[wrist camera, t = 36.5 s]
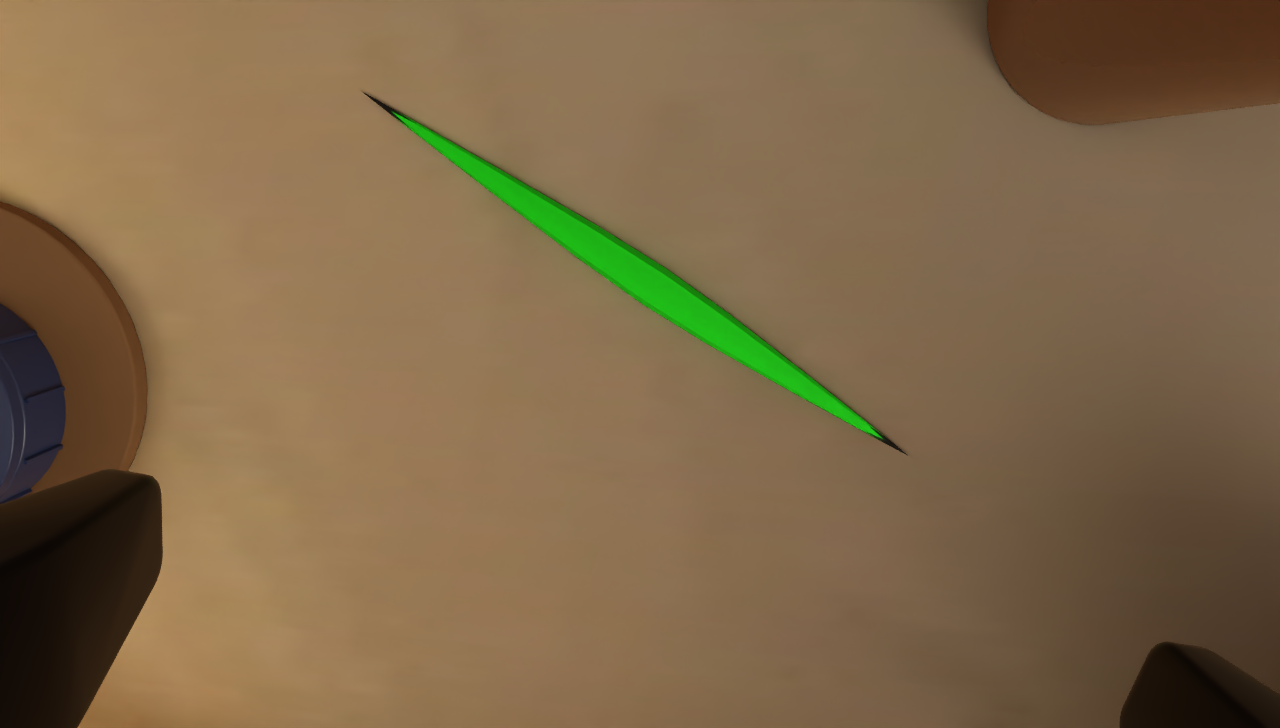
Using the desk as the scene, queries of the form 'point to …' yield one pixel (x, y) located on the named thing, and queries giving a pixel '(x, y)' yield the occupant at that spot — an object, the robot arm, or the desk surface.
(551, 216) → the leaf
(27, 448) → the jar lid
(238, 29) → the desk surface
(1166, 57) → the jar
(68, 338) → the coaster
